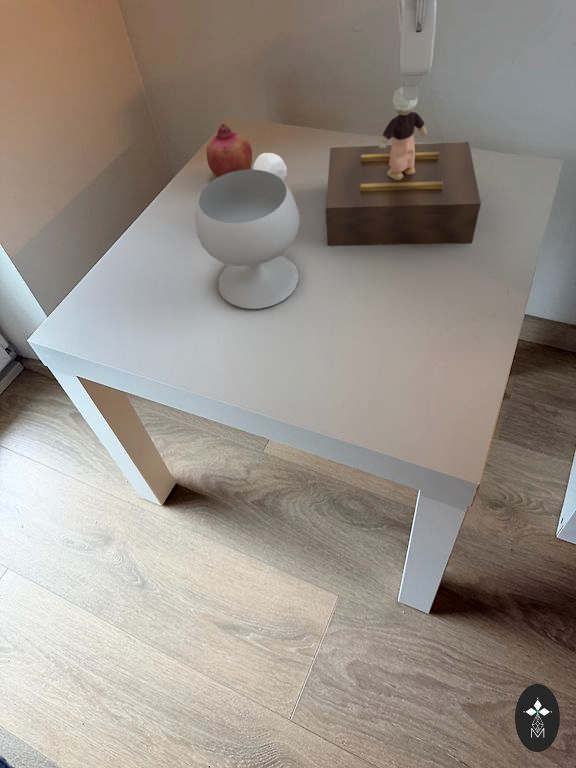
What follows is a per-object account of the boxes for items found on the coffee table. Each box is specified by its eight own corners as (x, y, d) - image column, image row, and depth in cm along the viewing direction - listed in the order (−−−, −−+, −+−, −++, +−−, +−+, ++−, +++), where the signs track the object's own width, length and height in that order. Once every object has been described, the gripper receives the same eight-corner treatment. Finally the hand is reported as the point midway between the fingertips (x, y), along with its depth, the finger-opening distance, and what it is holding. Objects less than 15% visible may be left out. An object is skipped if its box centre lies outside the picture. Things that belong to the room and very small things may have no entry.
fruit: (203, 186, 97) (189, 133, 89) (227, 162, 101) (216, 109, 93) (240, 195, 95) (230, 142, 87) (263, 171, 98) (255, 117, 90)
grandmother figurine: (408, 158, 84) (416, 73, 74) (426, 168, 82) (436, 82, 72) (371, 178, 82) (374, 93, 72) (388, 189, 80) (394, 103, 70)
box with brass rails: (461, 181, 91) (469, 137, 85) (472, 243, 82) (482, 198, 75) (331, 185, 94) (330, 142, 88) (327, 245, 85) (325, 203, 78)
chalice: (194, 292, 81) (166, 207, 69) (252, 240, 87) (236, 153, 75) (266, 329, 75) (249, 244, 63) (323, 270, 81) (318, 182, 69)
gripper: (455, -18, 54) (438, 119, 65) (440, -79, 66) (428, 45, 77) (391, -13, 54) (385, 122, 65) (387, -74, 66) (383, 48, 77)
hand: (408, 80), depth 71 cm, fingers open, 8 cm apart
